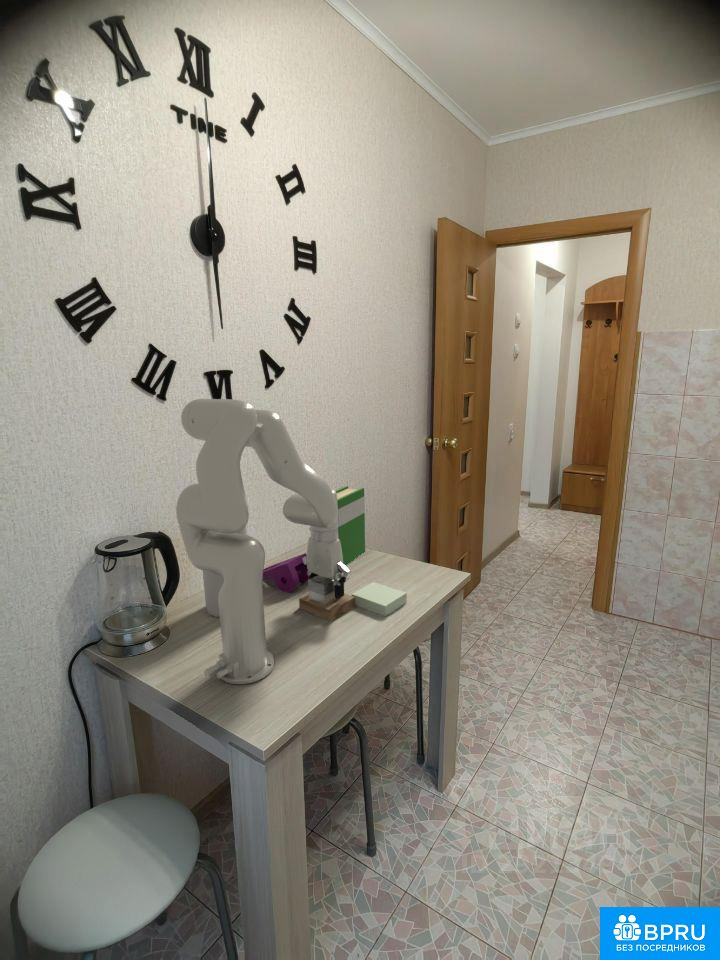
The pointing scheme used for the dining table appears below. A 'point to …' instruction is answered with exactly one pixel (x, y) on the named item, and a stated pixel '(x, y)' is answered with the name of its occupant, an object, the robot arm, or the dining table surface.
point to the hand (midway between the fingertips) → (326, 592)
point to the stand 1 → (328, 606)
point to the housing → (322, 590)
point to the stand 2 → (379, 598)
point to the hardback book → (351, 522)
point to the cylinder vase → (214, 588)
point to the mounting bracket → (288, 573)
